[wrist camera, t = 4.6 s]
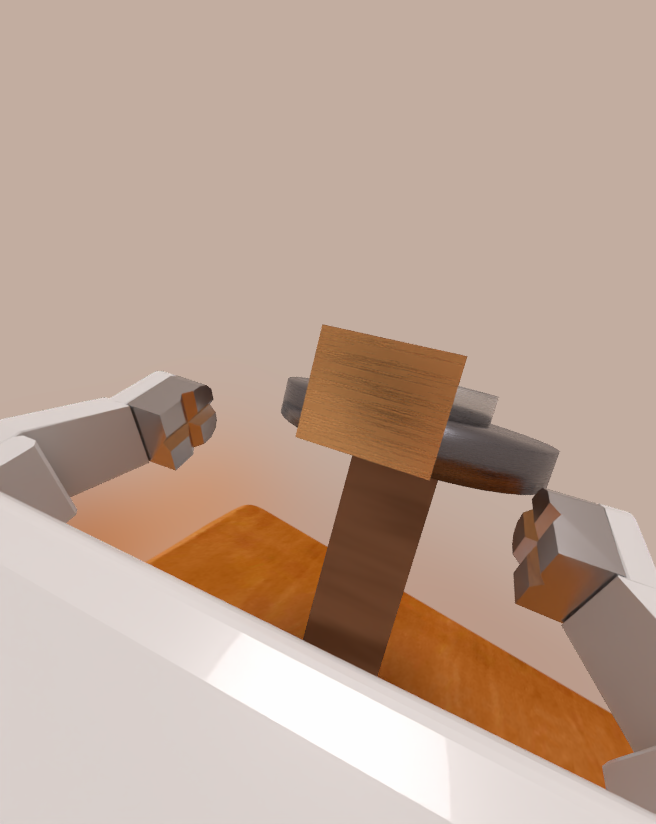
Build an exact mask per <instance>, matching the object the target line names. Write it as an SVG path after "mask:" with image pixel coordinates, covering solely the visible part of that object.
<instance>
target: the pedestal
mask: <svg viewBox="0 0 656 824" xmlns="http://www.w3.org/2000/svg"><path fill="white" fill-rule="evenodd" d="M309 379H310V378H302V377H290V378H288V382H287V387H286V391H285V395H284V400H283V404H282V409H281V413H282V415H283V416H284V418H285V419H287V420H288V421H289V422H290V423H292V424H293V425H295V426H296V427H297V428H298V424H299V420H300V416H301V412H302V408H303V404H304V399H305V395H306V391H307V387H308V383H309ZM558 455H559V450H557V449H556V448H554V447H552V446H550V445H548V444H546V443H543V442H541V441H538V440H536V439H533V438H530V437H528V436H525V435H522V434H519V433H516V432H513V431H510V430H508V429H505V428H502V427H499V426H495V425H492V424H490V426H489V427H480V426H474V425H469V424H464V423H459V422H455V421H451V420H448V421H447V425H446V428H445V431H444V435H443V438H442V441H441V444H440V448H439V451H438V454H437V458H436V461H435V464H434V467H433V471H432V474H431V477H430V480H426V479H423V478H420V477H417V476H414V475H411V474H408V473H405V472H402V471H399V470H396V469H393V468H390V467H386V466H383V465H380V464H377V463H374V462H371V461H368V460H365V459H362V458H359V457H356V456H353V455H352V459H351V462H350V466H349V471H348V474H347V478H346V481H345V485H344V489H343V492H342V496H341V500H340V504H339V508H338V511H337V515H336V519H335V522H334V526H333V530H332V533H331V537H330V541H329V544H328V548H327V552H326V556H325V559H324V563H323V567H322V571H321V574H320V578H319V582H318V585H317V589H316V593H315V597H314V600H313V604H312V608H311V612H310V615H309V619H308V623H307V626H306V630H305V634H304V638H303V641H305V642H307V643H310V644H312V645H314V646H316V647H318V648H320V649H322V650H324V651H326V652H328V653H330V654H332V655H334V656H336V657H338V658H340V659H342V660H344V661H346V662H348V663H350V664H352V665H354V666H356V667H358V668H360V669H362V670H364V671H366V672H368V673H370V674H372V675H374V676H376V677H377V675H378V672H379V669H380V666H381V662H382V659H383V656H384V653H385V650H386V646H387V643H388V640H389V637H390V633H391V630H392V627H393V624H394V620H395V617H396V614H397V611H398V608H399V604H400V601H401V598H402V595H403V591H404V588H405V585H406V582H407V579H408V575H409V572H410V569H411V566H412V562H413V559H414V556H415V553H416V549H417V546H418V543H419V540H420V537H421V533H422V530H423V527H424V524H425V520H426V517H427V514H428V511H429V507H430V504H431V501H432V498H433V495H434V492H435V488H436V485H437V482H438V480H440V481H444V482H448V483H452V484H456V485H461V486H465V487H470V488H475V489H480V490H485V491H493V492H499V493H506V494H517V495H534V494H536V493H537V491H539V490H540V489H541V488H547V485H548V482H549V479H550V477H551V474H552V471H553V469H554V466H555V463H556V460H557V457H558Z"/></svg>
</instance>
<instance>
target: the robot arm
mask: <svg viewBox="0 0 656 824" xmlns="http://www.w3.org/2000/svg"><path fill="white" fill-rule="evenodd" d="M212 400H213V396H212V390H211V388H209V387H208V386H207V385H204V384H201V383H198V382H195V381H192V380H189V379H186V378H183V377H180V376H176V375H173V374H170V373H167V372H164V371H156V372H154V373H152V374H150V375H149V376H147V377H145V378H144V379H142V380H140V381H138V382H137V383H135V384H133V385H132V386H130V387H128V388H127V389H125V390H123V391H121V392H120V393H118V394H116V395H115V396H113V397H111V398H110V399H108V398H105V397H104V398H99V399H95V400H89V401H85V402H80V403H75V404H71V405H66V406H61V407H57V408H52V409H47V410H42V411H38V412H33V413H28V414H24V415H19V416H14V417H10V418H5V419H0V824H656V568H655V565H654V563H653V560H652V558H651V555H650V553H649V551H648V548H647V546H646V544H645V541H644V538H643V536H642V534H641V531H640V529H639V526H638V524H637V521H636V519H635V517H634V516H633V515H632V514H631V513H629V512H627V511H623V510H619V509H616V508H613V507H609V506H606V505H602V504H596V503H593V502H590V501H587V500H583V499H580V498H576V497H573V496H570V495H566V494H563V493H560V492H556V491H553V490H550V489H546V488H541V489H540V490H539V491H537V493H536V494H535V496H534V497H533V499H532V504H533V510H529V511H527V512H524V513H523V514H522V515H521V517H520V519H519V520H518V522H517V525H516V528H515V531H514V535H513V543H512V545H513V546H512V548H513V555H514V557H515V558H516V560H517V561H518V562H519V564H520V565H519V566H518V568H517V569H516V571H515V572H514V589H515V603H516V604H518V605H520V606H522V607H525V608H527V609H530V610H532V611H534V612H537V613H539V614H541V615H544V616H546V617H549V618H551V619H553V620H556V621H558V622H561V623H563V624H562V627H563V628H564V631H565V632H566V634H567V636H568V637H569V639H570V641H571V643H572V645H573V646H574V648H575V650H576V652H577V653H578V655H579V657H580V658H581V660H582V662H583V664H584V666H585V667H586V669H587V671H588V672H589V674H590V676H591V678H592V679H593V681H594V683H595V684H596V686H597V688H598V690H599V692H600V693H601V695H602V697H603V698H604V700H605V702H606V704H607V705H608V707H609V709H610V711H611V713H612V714H613V716H614V718H615V720H616V721H617V723H618V725H619V727H620V728H621V730H622V732H623V733H624V735H625V737H626V739H627V740H628V742H629V744H630V746H631V747H632V749H633V751H634V753H632V754H629V755H626V756H623V757H620V758H617V759H614V760H610V761H609V762H607V763H606V764H604V765H603V766H602V767H603V773H604V779H605V785H606V789H604V788H602V787H600V786H598V785H596V784H593V783H591V782H589V781H587V780H585V779H583V778H581V777H579V776H577V775H575V774H573V773H571V772H569V771H567V770H565V769H563V768H561V767H559V766H557V765H555V764H553V763H551V762H549V761H547V760H545V759H543V758H541V757H539V756H537V755H535V754H533V753H531V752H529V751H527V750H525V749H522V748H520V747H518V746H516V745H514V744H512V743H510V742H508V741H506V740H504V739H502V738H500V737H498V736H496V735H494V734H492V733H490V732H488V731H486V730H484V729H482V728H480V727H478V726H476V725H474V724H472V723H470V722H468V721H466V720H464V719H462V718H460V717H458V716H456V715H454V714H452V713H449V712H447V711H445V710H443V709H441V708H439V707H437V706H435V705H433V704H431V703H429V702H427V701H425V700H423V699H421V698H419V697H417V696H415V695H413V694H411V693H409V692H407V691H405V690H403V689H401V688H399V687H397V686H395V685H393V684H391V683H389V682H387V681H385V680H383V679H381V678H378V677H376V676H374V675H372V674H370V673H368V672H366V671H364V670H362V669H360V668H358V667H356V666H354V665H352V664H350V663H348V662H346V661H344V660H342V659H340V658H338V657H336V656H334V655H332V654H330V653H328V652H326V651H324V650H322V649H320V648H318V647H316V646H314V645H312V644H310V643H307V642H305V641H303V640H301V639H299V638H297V637H295V636H293V635H291V634H289V633H287V632H285V631H283V630H281V629H279V628H277V627H275V626H273V625H271V624H269V623H267V622H265V621H263V620H261V619H259V618H257V617H255V616H253V615H251V614H249V613H247V612H245V611H243V610H241V609H239V608H236V607H234V606H232V605H230V604H228V603H226V602H224V601H222V600H220V599H218V598H216V597H214V596H212V595H210V594H208V593H206V592H204V591H202V590H200V589H198V588H196V587H194V586H192V585H190V584H188V583H186V582H184V581H182V580H180V579H178V578H176V577H174V576H172V575H170V574H168V573H165V572H163V571H161V570H159V569H157V568H155V567H153V566H151V565H149V564H147V563H145V562H143V561H141V560H139V559H137V558H135V557H133V556H131V555H129V554H127V553H125V552H123V551H121V550H119V549H117V548H115V547H113V546H111V545H109V544H107V543H105V542H103V541H101V540H98V539H96V538H94V537H92V536H90V535H88V534H86V533H84V532H82V531H80V530H78V529H76V528H74V527H72V526H70V525H68V524H66V523H67V522H68V521H69V520H70V519H71V518H73V517H74V516H75V515H76V512H77V508H76V507H75V505H74V503H73V502H72V500H71V498H70V497H72V496H74V495H77V494H79V493H81V492H83V491H85V490H88V489H90V488H93V487H95V486H97V485H99V484H102V483H104V482H106V481H109V480H111V479H113V478H115V477H118V476H120V475H122V474H124V473H127V472H129V471H131V470H133V469H136V468H138V467H140V466H143V465H145V464H147V463H149V461H151V462H154V463H156V464H159V465H162V466H165V467H168V468H170V469H173V470H177V469H178V468H179V467H180V466H181V465H182V464H183V463H184V462H185V461H186V460H187V459H188V458H190V457H191V456H192V455H193V451H194V447H196V446H199V445H202V444H204V443H205V442H206V441H207V440H208V439H209V438H211V436H212V434H213V432H214V430H215V428H216V421H217V419H216V412H215V411H214V410H213V408H212V407H211V405H210V403H211V402H212Z"/></svg>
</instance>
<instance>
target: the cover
mask: <svg viewBox="0 0 656 824" xmlns="http://www.w3.org/2000/svg"><path fill="white" fill-rule="evenodd" d="M466 359H467V356H463V355H459V354H454V353H450V352H445V351H441V350H436V349H431V348H427V347H422V346H418V345H413V344H409V343H404V342H400V341H395V340H391V339H386V338H382V337H377V336H373V335H368V334H363V333H359V332H355V331H350V330H346V329H341V328H337V327H332V326H327V325H322V329H321V333H320V337H319V341H318V345H317V349H316V354H315V358H314V362H313V366H312V370H311V375H310V379H309V383H308V387H307V391H306V395H305V399H304V404H303V408H302V412H301V416H300V420H299V424H298V429H297V433H296V437H297V438H300V439H303V440H307V441H310V442H313V443H316V444H319V445H322V446H326V447H328V448H331V449H335V450H337V451H341V452H344V453H347V454H350V455H353V456H356V457H359V458H362V459H365V460H368V461H371V462H374V463H377V464H380V465H383V466H386V467H390V468H393V469H396V470H399V471H402V472H405V473H408V474H411V475H414V476H417V477H420V478H423V479H426V480H430V477H431V474H432V471H433V467H434V464H435V461H436V458H437V454H438V451H439V448H440V444H441V441H442V438H443V435H444V431H445V428H446V425H447V421H448V420H451V421H455V422H459V423H464V424H469V425H474V426H480V427H489V426H490V423H491V420H492V417H493V414H494V411H495V407H496V404H497V401H498V398H499V397H497V396H494V395H490V394H487V393H483V392H479V391H475V390H472V389H467V388H464V387H460V386H458V385H459V382H460V378H461V375H462V372H463V369H464V366H465V362H466Z"/></svg>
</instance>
